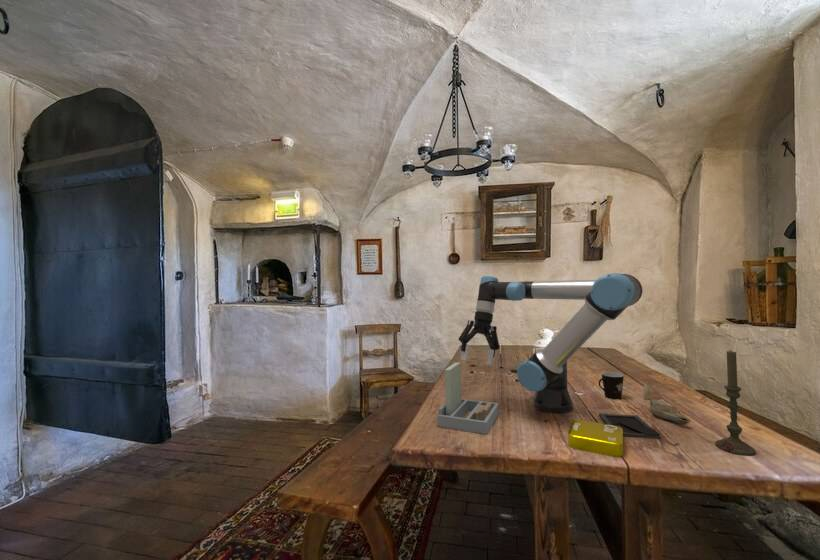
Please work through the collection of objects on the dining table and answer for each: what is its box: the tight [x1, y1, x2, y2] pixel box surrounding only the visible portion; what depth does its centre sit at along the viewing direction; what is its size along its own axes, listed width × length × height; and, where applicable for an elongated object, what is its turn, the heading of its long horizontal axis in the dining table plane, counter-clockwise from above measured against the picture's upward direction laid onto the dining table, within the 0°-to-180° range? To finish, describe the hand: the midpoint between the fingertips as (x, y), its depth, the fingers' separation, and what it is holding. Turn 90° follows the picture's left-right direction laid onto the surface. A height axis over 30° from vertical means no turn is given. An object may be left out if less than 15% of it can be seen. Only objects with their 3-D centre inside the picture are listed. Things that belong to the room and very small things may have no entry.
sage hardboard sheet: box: [444, 362, 463, 416], centre depth 137 cm, size 2×13×20 cm, turn 154°
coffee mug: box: [598, 371, 625, 400], centre depth 156 cm, size 12×9×10 cm
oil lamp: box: [642, 382, 691, 426], centre depth 131 cm, size 9×21×10 cm, turn 179°
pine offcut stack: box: [474, 403, 491, 421], centre depth 133 cm, size 4×9×6 cm, turn 154°
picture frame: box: [598, 413, 662, 440], centre depth 124 cm, size 13×2×18 cm
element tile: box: [567, 419, 624, 458], centre depth 113 cm, size 15×15×5 cm
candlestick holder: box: [714, 349, 757, 456], centre depth 107 cm, size 9×9×30 cm
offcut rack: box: [437, 398, 500, 435], centre depth 134 cm, size 18×21×6 cm
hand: (476, 362), depth 146 cm, fingers open, 13 cm apart
